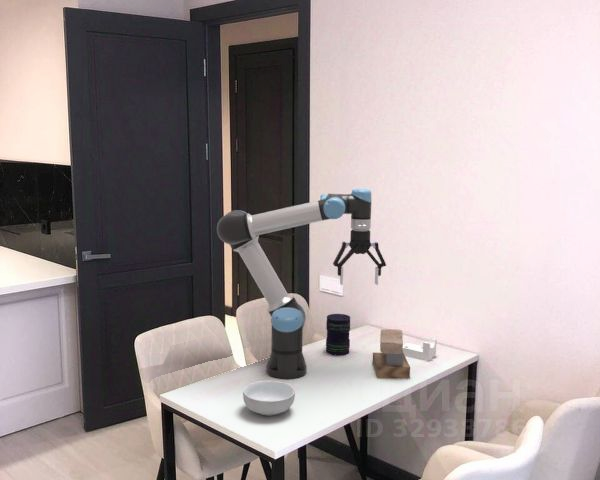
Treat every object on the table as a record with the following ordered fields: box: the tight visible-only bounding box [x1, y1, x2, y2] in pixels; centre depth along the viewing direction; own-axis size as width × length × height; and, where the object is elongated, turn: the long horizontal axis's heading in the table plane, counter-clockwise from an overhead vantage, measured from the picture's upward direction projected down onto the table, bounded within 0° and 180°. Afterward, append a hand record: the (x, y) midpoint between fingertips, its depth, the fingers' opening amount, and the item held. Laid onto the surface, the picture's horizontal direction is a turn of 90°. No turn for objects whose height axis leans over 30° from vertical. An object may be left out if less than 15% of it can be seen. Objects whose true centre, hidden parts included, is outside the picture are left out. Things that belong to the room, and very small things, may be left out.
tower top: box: [385, 349, 403, 366], centre depth 250 cm, size 6×13×5 cm, turn 174°
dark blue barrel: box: [325, 313, 351, 357], centre depth 270 cm, size 10×10×15 cm
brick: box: [379, 328, 404, 354], centre depth 249 cm, size 17×8×5 cm, turn 172°
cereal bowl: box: [242, 380, 296, 417], centre depth 212 cm, size 17×17×7 cm
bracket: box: [402, 338, 437, 362], centre depth 268 cm, size 13×7×8 cm, turn 54°
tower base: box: [371, 352, 411, 380], centre depth 250 cm, size 12×16×5 cm
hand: (358, 284), depth 254 cm, fingers open, 13 cm apart
